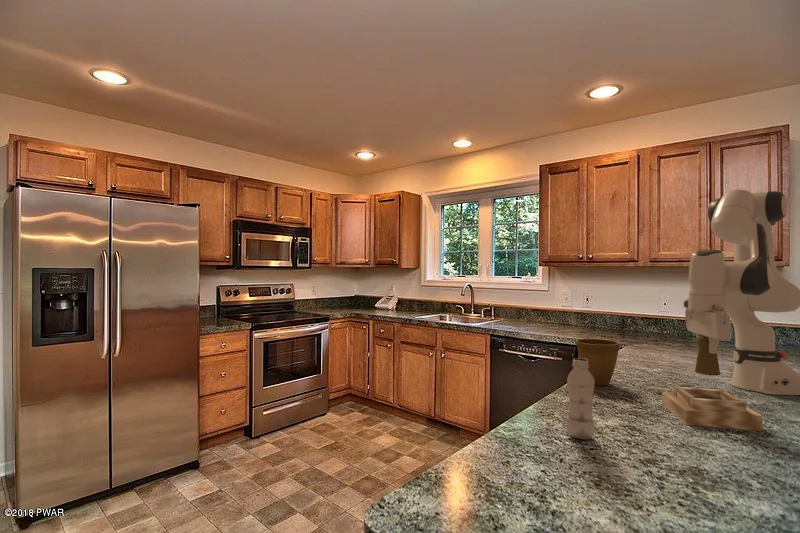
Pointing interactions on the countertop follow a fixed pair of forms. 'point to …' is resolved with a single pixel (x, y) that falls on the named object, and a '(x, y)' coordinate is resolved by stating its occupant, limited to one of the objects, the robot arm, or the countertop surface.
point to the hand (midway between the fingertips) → (707, 351)
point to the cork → (706, 358)
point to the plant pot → (599, 358)
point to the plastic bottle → (580, 400)
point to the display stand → (711, 409)
